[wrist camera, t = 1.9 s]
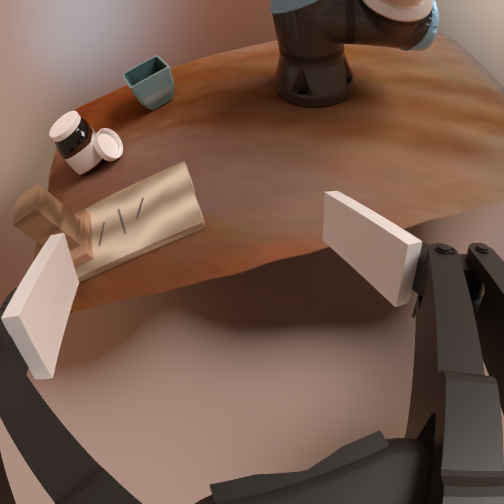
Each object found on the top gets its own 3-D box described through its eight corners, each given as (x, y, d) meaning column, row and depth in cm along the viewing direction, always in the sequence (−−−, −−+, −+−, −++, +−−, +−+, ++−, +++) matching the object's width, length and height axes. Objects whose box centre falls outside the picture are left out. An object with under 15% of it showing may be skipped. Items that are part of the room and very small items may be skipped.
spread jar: (75, 158, 61) (46, 124, 51) (116, 129, 62) (91, 91, 52) (83, 191, 56) (49, 154, 46) (130, 157, 57) (101, 115, 46)
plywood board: (56, 231, 53) (51, 227, 52) (187, 166, 52) (184, 160, 51) (57, 292, 47) (51, 289, 46) (206, 227, 46) (202, 222, 45)
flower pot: (170, 83, 66) (156, 54, 58) (184, 98, 62) (169, 65, 54) (137, 103, 65) (121, 74, 57) (147, 119, 61) (130, 88, 53)
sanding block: (61, 230, 51) (14, 191, 39) (90, 214, 51) (45, 170, 39) (61, 274, 47) (7, 238, 35) (93, 258, 46) (40, 217, 35)
